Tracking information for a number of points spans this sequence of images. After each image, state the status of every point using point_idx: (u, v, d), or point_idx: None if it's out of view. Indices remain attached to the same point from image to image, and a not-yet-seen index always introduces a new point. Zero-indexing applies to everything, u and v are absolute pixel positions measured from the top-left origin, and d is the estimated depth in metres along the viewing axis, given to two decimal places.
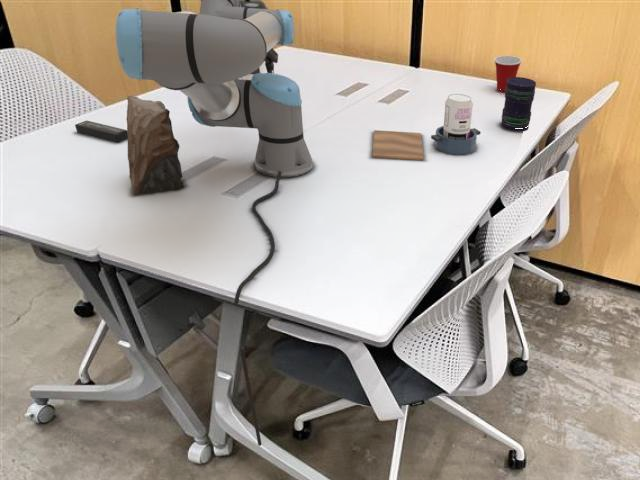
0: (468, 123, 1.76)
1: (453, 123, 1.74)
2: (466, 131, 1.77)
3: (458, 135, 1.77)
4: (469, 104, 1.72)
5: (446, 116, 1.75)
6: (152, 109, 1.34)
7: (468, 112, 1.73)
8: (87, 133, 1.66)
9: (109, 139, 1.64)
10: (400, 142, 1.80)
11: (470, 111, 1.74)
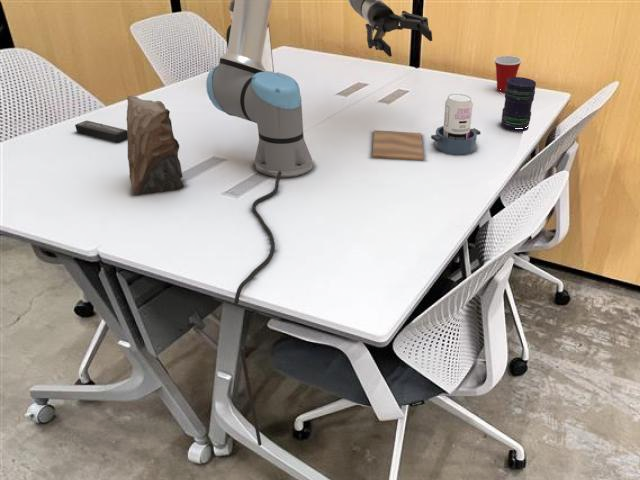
0: (468, 123, 1.76)
1: (453, 123, 1.74)
2: (466, 131, 1.77)
3: (458, 135, 1.77)
4: (469, 104, 1.72)
5: (446, 116, 1.75)
6: (152, 109, 1.34)
7: (468, 112, 1.73)
8: (87, 133, 1.66)
9: (109, 139, 1.64)
10: (400, 142, 1.80)
11: (470, 111, 1.74)
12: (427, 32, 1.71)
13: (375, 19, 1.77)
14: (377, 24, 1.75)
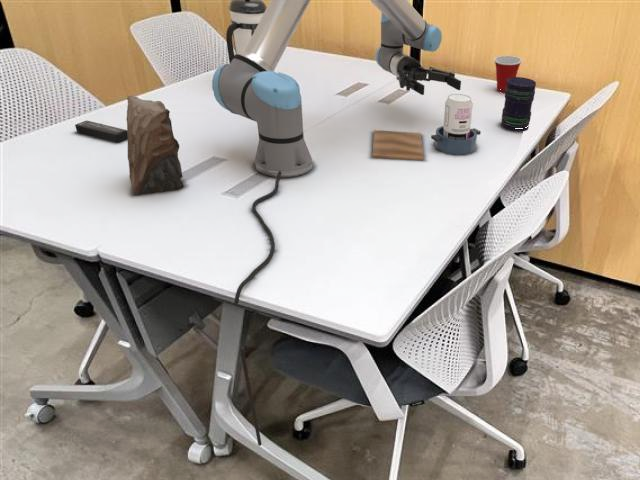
0: (468, 123, 1.76)
1: (453, 123, 1.74)
2: (466, 131, 1.77)
3: (458, 135, 1.77)
4: (469, 104, 1.72)
5: (446, 116, 1.75)
6: (152, 109, 1.34)
7: (468, 112, 1.73)
8: (87, 133, 1.66)
9: (109, 139, 1.64)
10: (400, 142, 1.80)
11: (470, 111, 1.74)
12: (456, 82, 1.83)
13: (405, 69, 1.88)
14: (407, 72, 1.86)
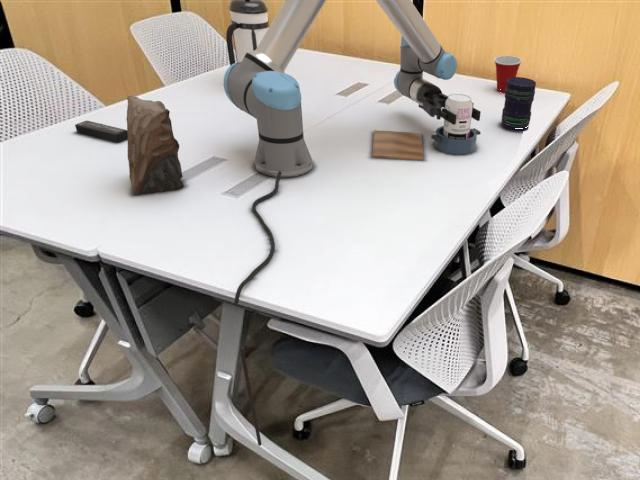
0: (468, 123, 1.76)
1: None
2: (466, 131, 1.77)
3: (458, 135, 1.77)
4: (469, 104, 1.72)
5: None
6: (152, 109, 1.34)
7: (468, 112, 1.73)
8: (87, 133, 1.66)
9: (109, 139, 1.64)
10: (400, 142, 1.80)
11: (470, 111, 1.74)
12: (476, 112, 1.76)
13: (425, 95, 1.83)
14: (428, 99, 1.81)
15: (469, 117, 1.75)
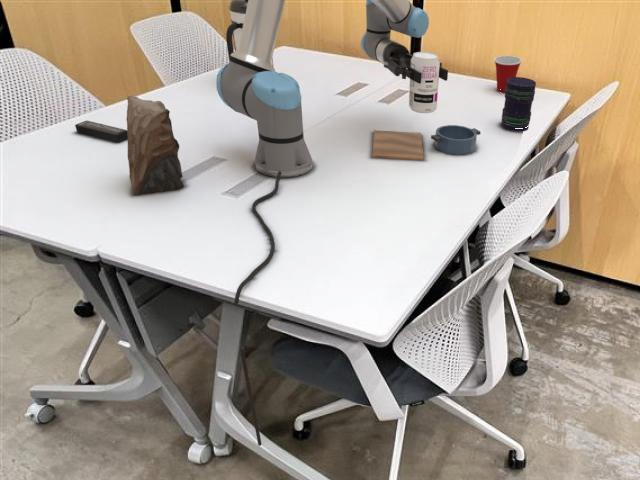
0: (435, 83, 1.67)
1: None
2: (433, 92, 1.68)
3: (424, 96, 1.67)
4: (436, 62, 1.63)
5: None
6: (152, 109, 1.34)
7: (434, 71, 1.64)
8: (87, 133, 1.66)
9: (109, 139, 1.64)
10: (400, 142, 1.80)
11: (437, 70, 1.65)
12: (443, 71, 1.66)
13: (392, 55, 1.73)
14: (394, 58, 1.71)
15: (436, 76, 1.66)
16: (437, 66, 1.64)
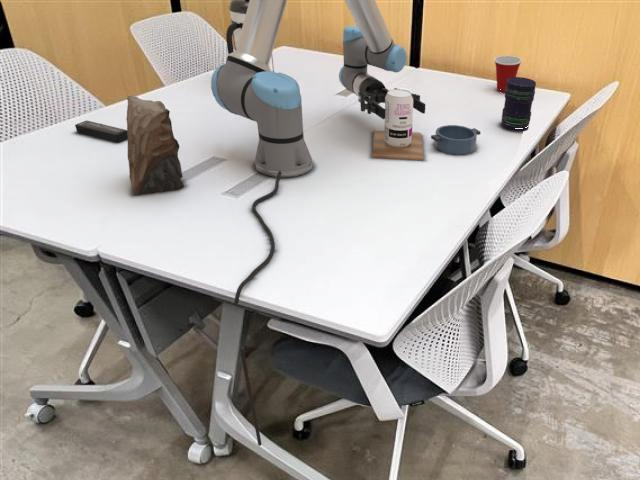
0: (409, 119, 1.72)
1: (393, 119, 1.70)
2: (407, 127, 1.73)
3: (399, 131, 1.73)
4: (409, 100, 1.68)
5: (386, 112, 1.71)
6: (152, 109, 1.34)
7: (408, 108, 1.69)
8: (87, 133, 1.66)
9: (109, 139, 1.64)
10: None
11: (410, 107, 1.70)
12: (420, 105, 1.73)
13: (368, 90, 1.79)
14: (370, 94, 1.77)
15: (410, 113, 1.71)
16: (410, 103, 1.69)
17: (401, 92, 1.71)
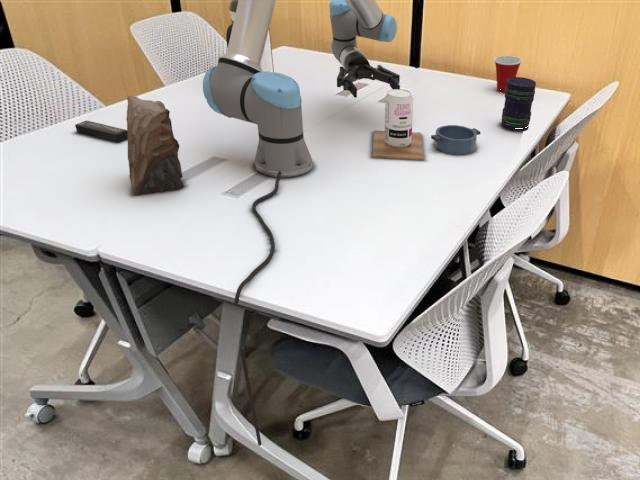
0: (409, 119, 1.72)
1: (393, 119, 1.70)
2: (407, 127, 1.73)
3: (399, 131, 1.73)
4: (409, 100, 1.68)
5: (386, 112, 1.71)
6: (152, 109, 1.34)
7: (408, 108, 1.69)
8: (87, 133, 1.66)
9: (109, 139, 1.64)
10: None
11: (410, 107, 1.70)
12: (396, 86, 1.77)
13: (350, 65, 1.83)
14: (351, 69, 1.81)
15: (410, 113, 1.71)
16: (410, 103, 1.69)
17: (401, 92, 1.71)
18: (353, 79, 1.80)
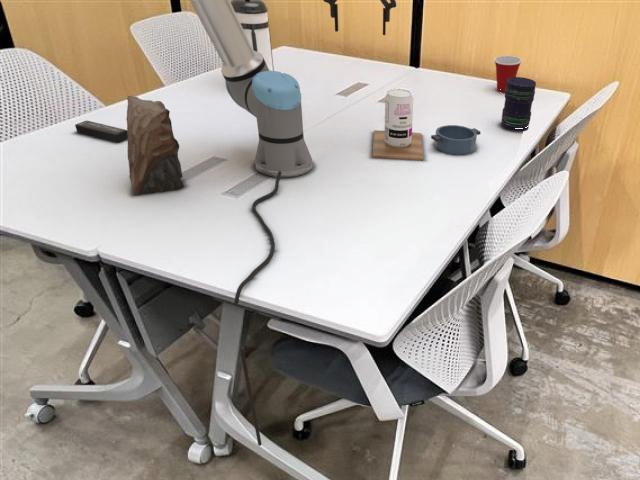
0: (409, 119, 1.72)
1: (393, 119, 1.70)
2: (407, 127, 1.73)
3: (399, 131, 1.73)
4: (409, 100, 1.68)
5: (386, 112, 1.71)
6: (152, 109, 1.34)
7: (408, 108, 1.69)
8: (87, 133, 1.66)
9: (109, 139, 1.64)
10: None
11: (410, 107, 1.70)
12: None
13: None
14: None
15: (410, 113, 1.71)
16: (410, 103, 1.69)
17: (401, 92, 1.71)
18: None
